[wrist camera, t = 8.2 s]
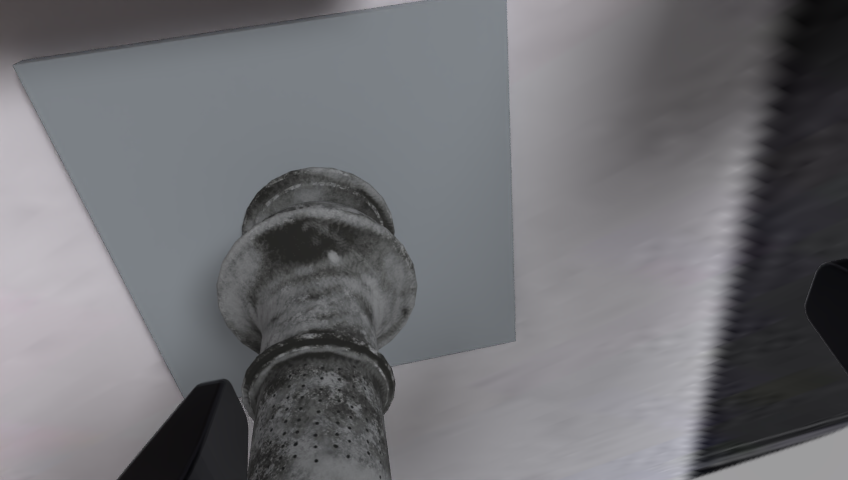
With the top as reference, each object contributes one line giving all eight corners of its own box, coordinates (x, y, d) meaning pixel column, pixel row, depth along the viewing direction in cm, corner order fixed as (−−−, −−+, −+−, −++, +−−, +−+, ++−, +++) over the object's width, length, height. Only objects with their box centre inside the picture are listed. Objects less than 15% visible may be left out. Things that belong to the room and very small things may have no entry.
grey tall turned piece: (331, 325, 21) (342, 703, 11) (198, 246, 18) (49, 651, 8) (435, 225, 20) (559, 559, 9) (305, 122, 17) (284, 437, 7)
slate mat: (500, -11, 16) (506, -9, 16) (511, 331, 24) (515, 341, 23) (22, 60, 15) (12, 65, 15) (191, 396, 23) (189, 407, 22)
